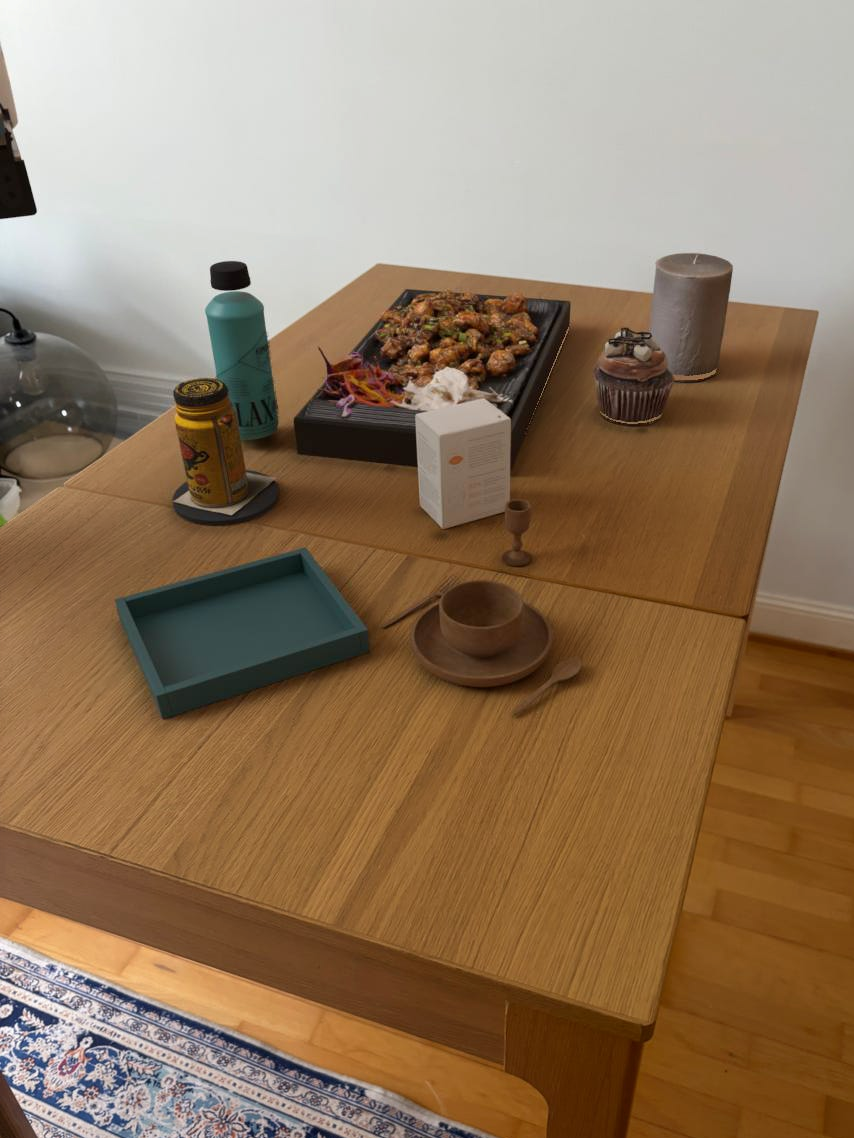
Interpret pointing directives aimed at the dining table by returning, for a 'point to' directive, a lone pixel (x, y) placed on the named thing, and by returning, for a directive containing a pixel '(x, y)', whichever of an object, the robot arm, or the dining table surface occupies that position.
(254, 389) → the beverage bottle
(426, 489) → the small box
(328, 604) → the tray
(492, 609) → the place setting
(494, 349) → the food platter
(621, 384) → the cupcake
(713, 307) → the pillar candle
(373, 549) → the dining table surface
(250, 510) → the mat
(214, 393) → the condiment
